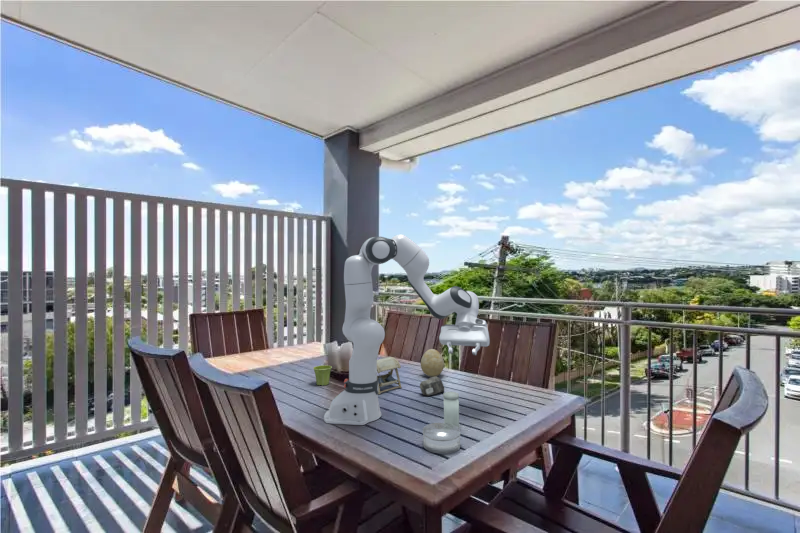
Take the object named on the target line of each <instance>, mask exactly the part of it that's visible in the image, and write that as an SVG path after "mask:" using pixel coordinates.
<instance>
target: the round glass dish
mask: <svg viewBox="0 0 800 533" xmlns="http://www.w3.org/2000/svg"><path fill="white" fill-rule="evenodd" d="M422 434H423V435H422V436H423V438H422V439H423V441H422V444H423V447H424V449H425V450H426V451H428V452H430V453H434V454H440V455H448V454H449V455H450V454H452V453H456V452H457V451H460V448H461V434H462V432H461V429H460V427H459V428H458V427H457V426H455V425H452V424H449V423H444V422H434V423H433V422H432V423H429V424H427V425H424V426H423V428H422Z"/></svg>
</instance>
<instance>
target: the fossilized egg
mask: <svg viewBox="0 0 800 533" xmlns="http://www.w3.org/2000/svg"><path fill="white" fill-rule="evenodd" d="M444 368H445V362H444V358H443V356H442V354H441V352H439V351H438V349H437V350H436V349H434V348H430V349H427V350H426V351H425V352H424V353H423V355H422V357H421V359H420V369H421V371H422V372H423V373H424V374H425V375H426V376H427V377H429V378H431V377H435V376H437V377H438V376H440V375H441V374H442V372H443V371H444Z"/></svg>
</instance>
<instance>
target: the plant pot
mask: <svg viewBox="0 0 800 533" xmlns="http://www.w3.org/2000/svg"><path fill="white" fill-rule="evenodd" d="M332 368H333V367H332V365H326V364H325V365H316V366H314V367H313V368H312V369H313V371H314V375H315V382H316V385H317V386H320V385H322V386H321V387H323V385H324V386H327V385H329V383H330V376H331V371H332Z"/></svg>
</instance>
